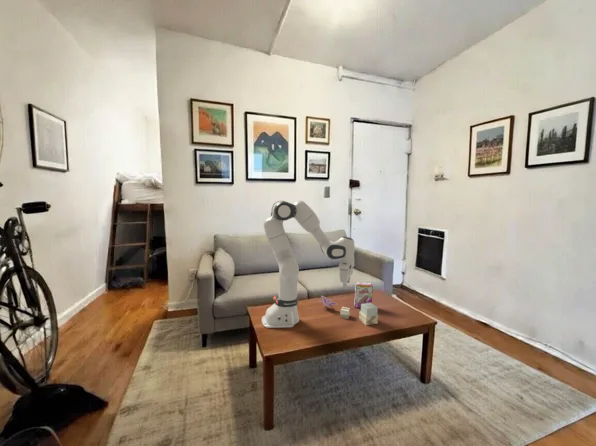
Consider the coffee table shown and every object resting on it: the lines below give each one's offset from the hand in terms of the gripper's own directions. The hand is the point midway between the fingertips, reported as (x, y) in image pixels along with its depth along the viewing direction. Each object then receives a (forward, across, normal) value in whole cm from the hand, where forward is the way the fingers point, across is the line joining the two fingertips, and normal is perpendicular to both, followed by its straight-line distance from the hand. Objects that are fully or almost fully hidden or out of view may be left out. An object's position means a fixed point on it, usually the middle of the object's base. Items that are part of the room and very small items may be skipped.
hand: (346, 285), depth 166 cm
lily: (+20, -5, -13) cm, 25 cm away
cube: (+20, 0, 0) cm, 20 cm away
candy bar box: (+21, -19, +7) cm, 29 cm away
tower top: (+16, +1, +14) cm, 21 cm away
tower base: (+21, +1, +14) cm, 25 cm away
